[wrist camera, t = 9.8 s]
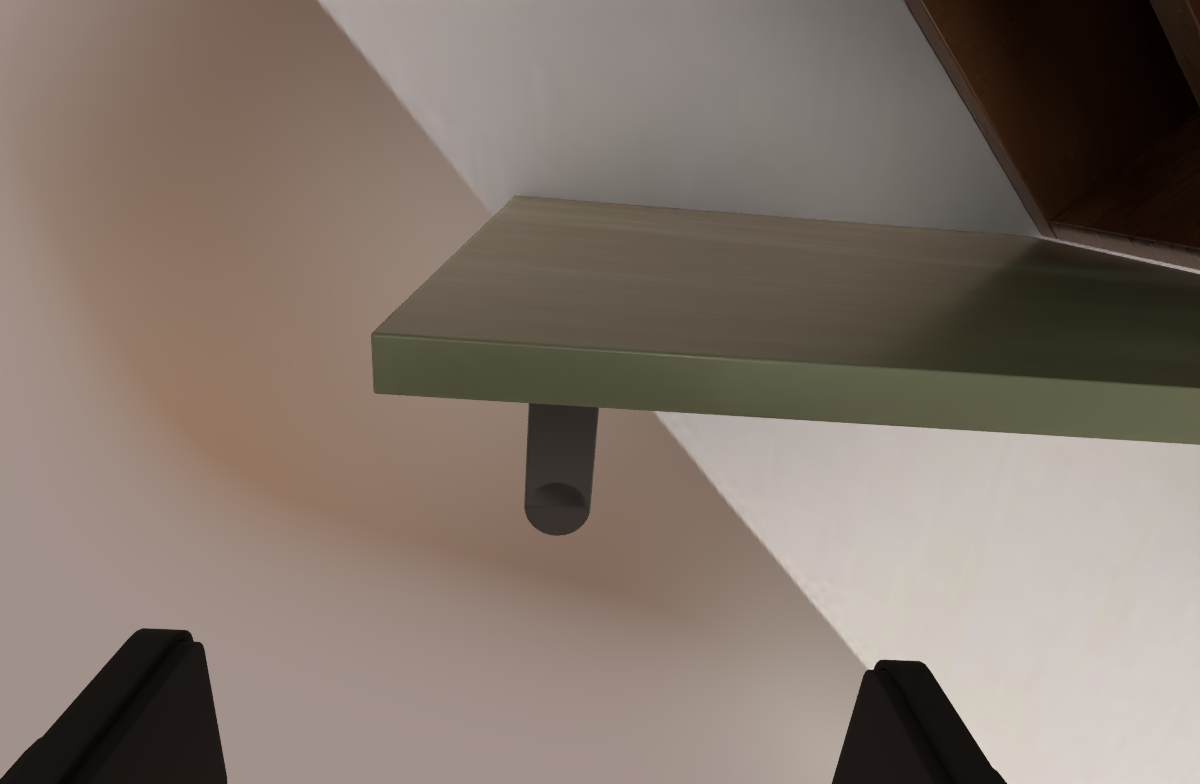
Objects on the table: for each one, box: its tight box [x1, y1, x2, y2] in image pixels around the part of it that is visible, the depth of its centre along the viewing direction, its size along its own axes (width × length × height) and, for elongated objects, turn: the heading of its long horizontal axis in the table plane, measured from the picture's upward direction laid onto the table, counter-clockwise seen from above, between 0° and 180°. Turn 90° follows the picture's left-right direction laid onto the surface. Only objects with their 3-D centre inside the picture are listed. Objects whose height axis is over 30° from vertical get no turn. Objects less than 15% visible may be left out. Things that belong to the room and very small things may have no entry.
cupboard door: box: [371, 196, 1200, 535], centre depth 23 cm, size 7×26×24 cm, turn 85°
